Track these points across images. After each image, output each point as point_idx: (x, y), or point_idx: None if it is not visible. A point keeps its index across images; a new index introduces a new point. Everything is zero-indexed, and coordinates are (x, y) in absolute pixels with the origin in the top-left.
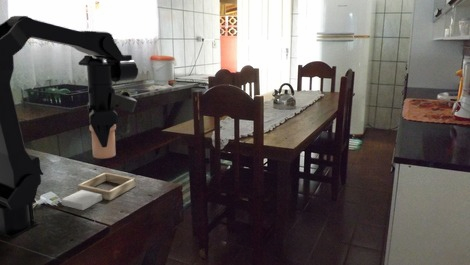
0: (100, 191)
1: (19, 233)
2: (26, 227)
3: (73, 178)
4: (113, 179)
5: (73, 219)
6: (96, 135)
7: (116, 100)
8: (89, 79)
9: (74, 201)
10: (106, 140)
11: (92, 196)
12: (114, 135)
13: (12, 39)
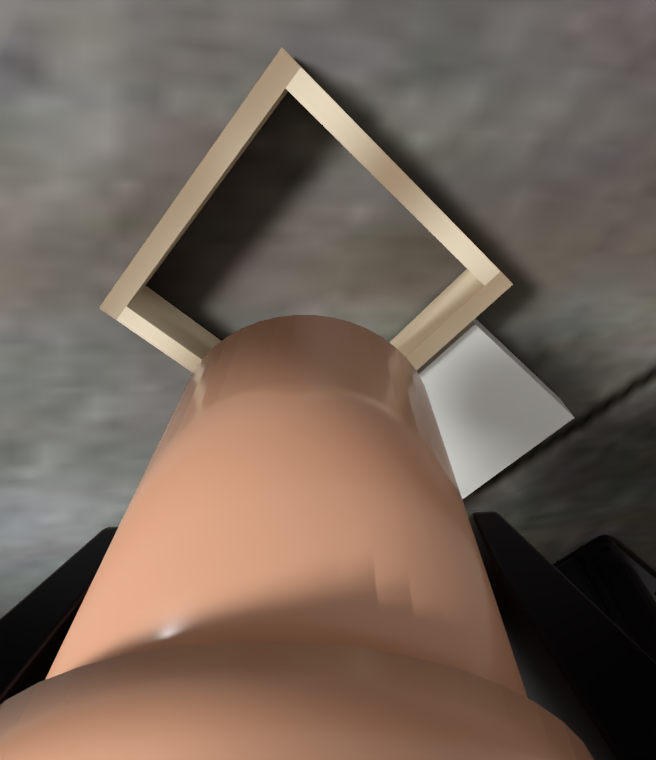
0: (449, 336)
1: (652, 575)
2: (628, 567)
3: (81, 457)
4: (176, 240)
5: (626, 428)
6: None
7: None
8: None
9: (515, 452)
10: (574, 606)
11: (484, 374)
12: (353, 519)
13: None
